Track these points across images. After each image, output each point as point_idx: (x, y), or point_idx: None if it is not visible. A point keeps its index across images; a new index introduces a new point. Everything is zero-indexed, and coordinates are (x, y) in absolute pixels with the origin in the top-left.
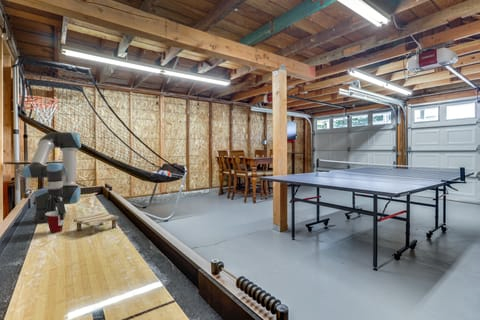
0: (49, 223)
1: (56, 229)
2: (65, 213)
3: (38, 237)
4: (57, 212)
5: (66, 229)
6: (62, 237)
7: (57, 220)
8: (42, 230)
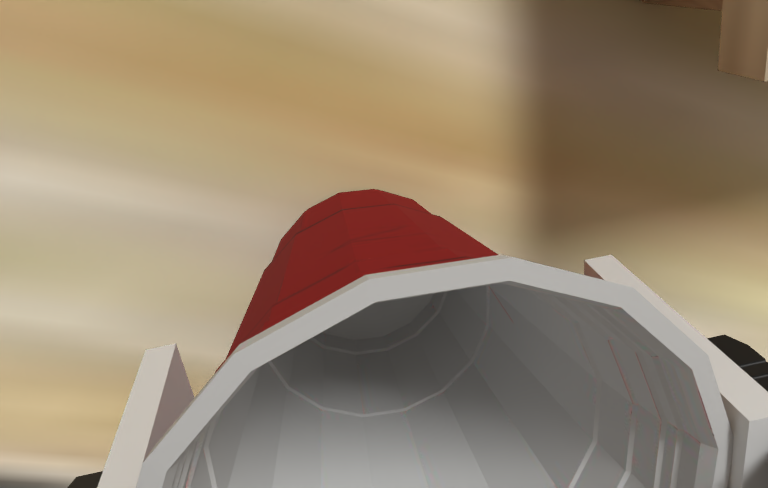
0: (441, 484)
1: (469, 312)
2: (673, 329)
3: None
4: (181, 465)
5: (347, 104)
6: (750, 268)
7: (581, 415)
8: (76, 403)
